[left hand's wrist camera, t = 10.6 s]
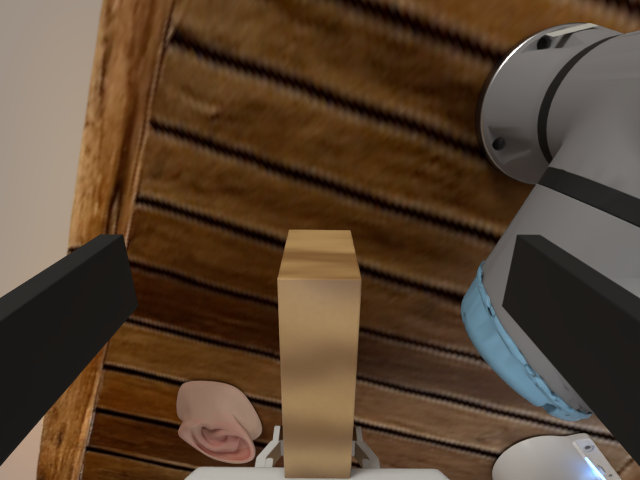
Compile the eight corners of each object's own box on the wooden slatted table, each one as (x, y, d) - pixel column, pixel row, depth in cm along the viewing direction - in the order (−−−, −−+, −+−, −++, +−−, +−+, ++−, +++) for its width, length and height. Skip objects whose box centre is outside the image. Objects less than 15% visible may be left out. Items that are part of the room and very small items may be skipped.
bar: (288, 229, 29) (277, 278, 21) (350, 230, 29) (361, 279, 21) (293, 431, 37) (286, 522, 29) (342, 432, 37) (347, 522, 29)
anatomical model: (153, 407, 48) (237, 393, 47) (164, 384, 52) (243, 371, 51) (186, 475, 53) (263, 464, 52) (194, 450, 57) (267, 440, 56)
